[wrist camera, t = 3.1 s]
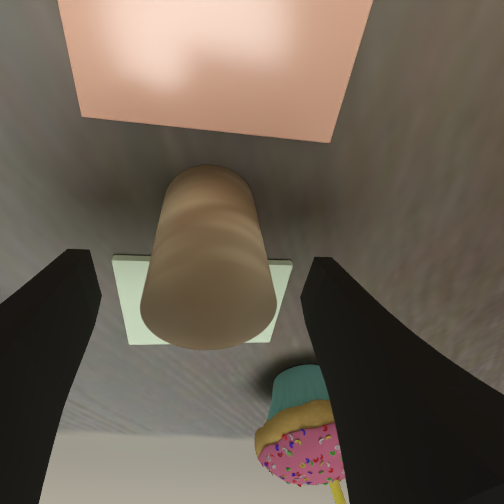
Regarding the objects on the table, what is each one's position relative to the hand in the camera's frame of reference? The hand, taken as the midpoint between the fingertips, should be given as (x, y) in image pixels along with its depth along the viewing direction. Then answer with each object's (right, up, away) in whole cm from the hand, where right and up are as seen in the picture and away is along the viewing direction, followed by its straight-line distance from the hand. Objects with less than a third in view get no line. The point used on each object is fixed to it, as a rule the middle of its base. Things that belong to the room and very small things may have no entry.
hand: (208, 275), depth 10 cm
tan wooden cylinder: (0, +3, +3) cm, 5 cm away
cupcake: (+5, -10, +15) cm, 19 cm away
